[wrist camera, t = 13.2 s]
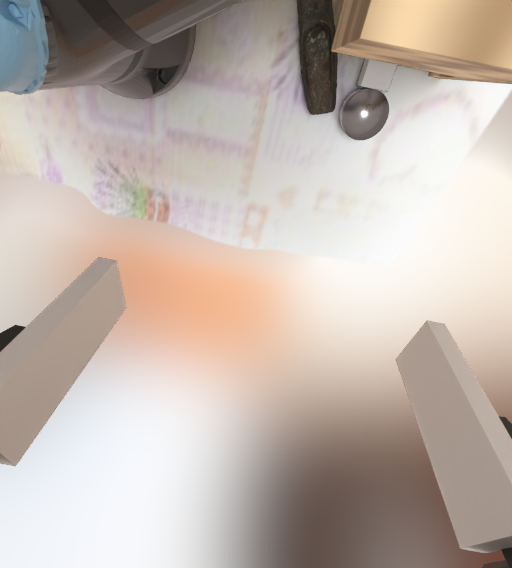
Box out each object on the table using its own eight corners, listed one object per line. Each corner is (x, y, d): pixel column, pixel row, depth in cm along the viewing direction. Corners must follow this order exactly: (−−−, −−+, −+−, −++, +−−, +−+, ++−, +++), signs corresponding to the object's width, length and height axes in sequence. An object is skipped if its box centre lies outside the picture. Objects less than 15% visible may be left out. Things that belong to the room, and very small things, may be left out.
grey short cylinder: (333, 130, 35) (336, 135, 33) (348, 83, 32) (352, 84, 30) (371, 139, 35) (376, 144, 33) (389, 92, 32) (397, 94, 30)
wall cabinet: (323, 54, 30) (360, 38, 13) (347, -44, 26) (448, -259, 9) (441, 78, 31) (628, 93, 13) (485, -15, 26) (851, -172, 9)
